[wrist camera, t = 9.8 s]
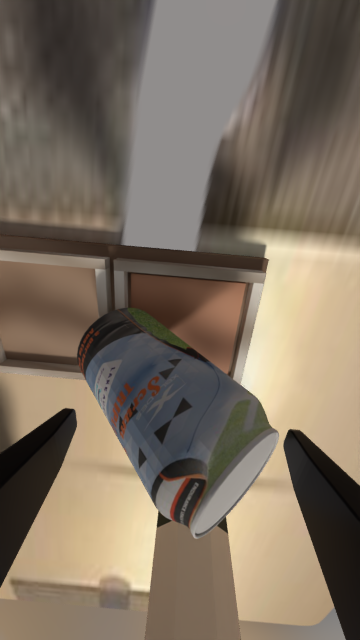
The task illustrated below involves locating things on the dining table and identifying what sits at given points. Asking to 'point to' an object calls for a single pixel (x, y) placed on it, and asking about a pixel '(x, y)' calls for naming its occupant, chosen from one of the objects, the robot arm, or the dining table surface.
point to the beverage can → (176, 417)
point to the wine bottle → (191, 585)
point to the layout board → (121, 300)
